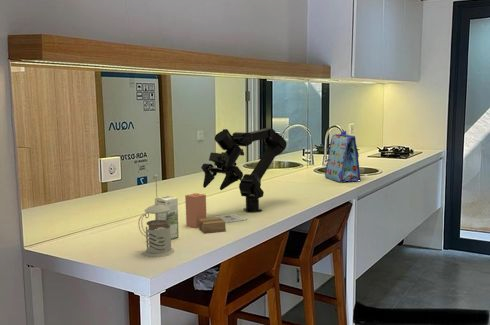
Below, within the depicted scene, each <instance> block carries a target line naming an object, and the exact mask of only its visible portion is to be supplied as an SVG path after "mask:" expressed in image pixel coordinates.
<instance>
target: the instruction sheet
mask: <svg viewBox="0 0 490 325" xmlns="http://www.w3.org/2000/svg"><path fill="white" fill-rule="evenodd" d="M217 217H220V218H221V219H222V220H224V221H225V224H226V223H227V224H228V223H233V222H234V223H235V222H242V221H246V220H248V219H247V218H244V217H242V216H240V215H237V214H235V213H229V214H222V215H215V216H213V218H217Z"/></svg>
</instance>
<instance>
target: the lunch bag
mask: <svg viewBox="0 0 490 325" xmlns="http://www.w3.org/2000/svg"><path fill="white" fill-rule="evenodd" d="M359 157H360V156H359V150H358V146H357V141H356V136H355V135H350V134H348V133H347V130H341V131H340V133H338V134H337V133H335V134H333V135H332V137H331V139H330V143H329V151H328V156H327V162H326V166H325V172H324V173H325V174H324V178H325V177H326V178H325V179H328V178H329V180H331V179H332V181H334V180H335V182H337V181H338V183H340V182H343V183H347V182H346V181H348V182H357V181H358V180H360V181H359V182H361V181H362V178H361V171H360V162H359V161H360V160H359Z"/></svg>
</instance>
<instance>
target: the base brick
mask: <svg viewBox="0 0 490 325" xmlns="http://www.w3.org/2000/svg"><path fill="white" fill-rule="evenodd" d="M198 229H199V230H200V231H202V232H201V233H203V234H211V233H220V232H221V233H222V232H227V230H226V222H225V221H224V220H222V219H221V218H220V217H217V218H215V217H207V219H199V228H198Z"/></svg>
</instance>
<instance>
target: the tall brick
mask: <svg viewBox="0 0 490 325" xmlns="http://www.w3.org/2000/svg"><path fill="white" fill-rule="evenodd" d="M184 200H185V221H186V222H185V223H186V224H185V225H186V227H189V228H193V229H199V219H207V218H208V217H207V195H206V194H204V193H196V192H195V193H191V194H190V193H189V194H186V195H185V199H184Z"/></svg>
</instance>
